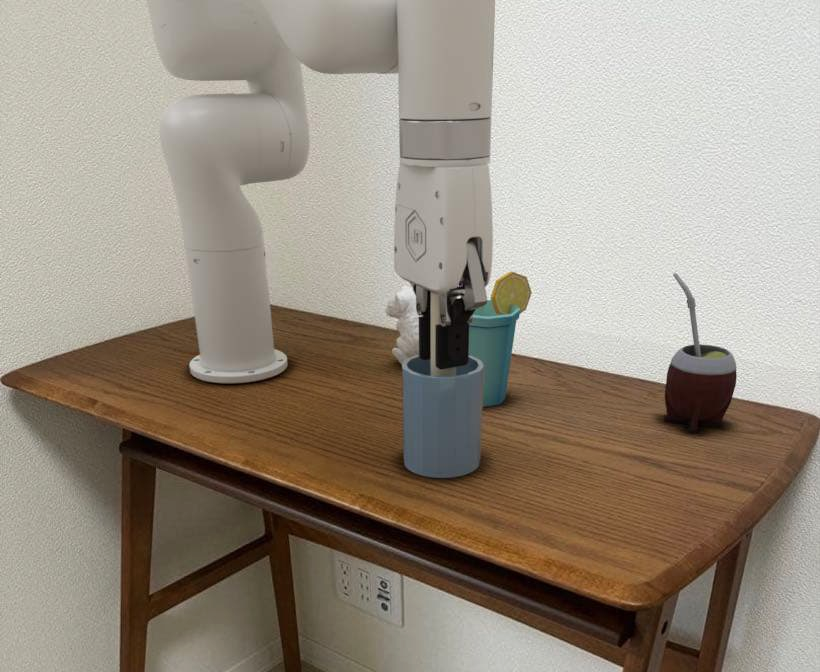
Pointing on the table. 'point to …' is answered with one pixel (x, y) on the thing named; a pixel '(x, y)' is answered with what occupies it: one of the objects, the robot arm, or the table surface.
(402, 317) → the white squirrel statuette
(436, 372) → the beige cylinder rod
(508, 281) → the cup
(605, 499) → the table surface
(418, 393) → the tumbler
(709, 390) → the mate gourd
